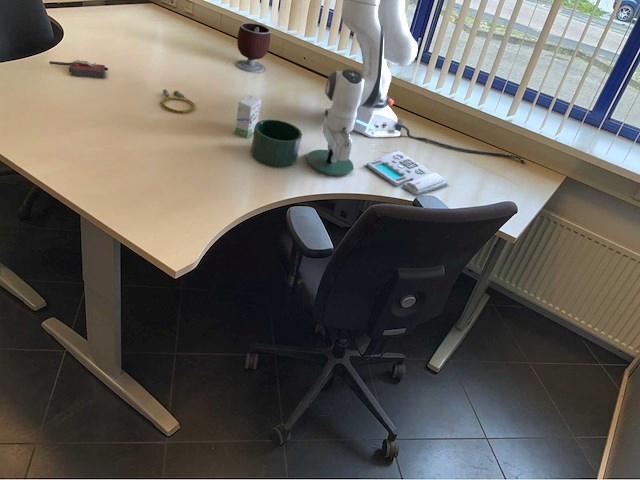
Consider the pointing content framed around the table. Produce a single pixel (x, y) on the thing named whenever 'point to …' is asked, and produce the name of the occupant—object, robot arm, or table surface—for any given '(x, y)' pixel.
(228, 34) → the table surface
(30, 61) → the table surface
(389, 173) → the office telephone
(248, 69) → the mate gourd
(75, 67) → the walkie-talkie
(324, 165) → the tin lid
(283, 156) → the tin
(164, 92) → the extension cord
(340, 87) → the robot arm
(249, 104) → the ink box
